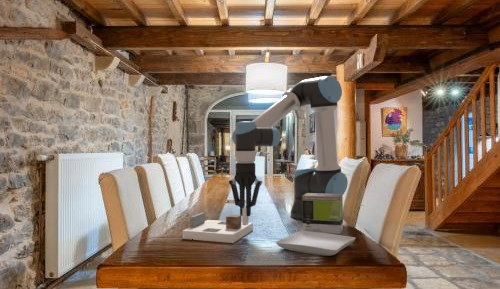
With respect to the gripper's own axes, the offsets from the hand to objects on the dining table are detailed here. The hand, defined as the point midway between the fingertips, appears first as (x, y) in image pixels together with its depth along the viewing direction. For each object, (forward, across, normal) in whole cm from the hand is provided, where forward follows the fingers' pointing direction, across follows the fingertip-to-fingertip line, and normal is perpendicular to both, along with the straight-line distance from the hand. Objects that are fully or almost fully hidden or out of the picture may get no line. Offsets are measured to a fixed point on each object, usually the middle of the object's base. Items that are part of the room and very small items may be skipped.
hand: (245, 224), depth 154 cm
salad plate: (+5, -28, +8) cm, 30 cm away
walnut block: (+2, +5, 0) cm, 5 cm away
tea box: (+5, -26, -19) cm, 33 cm away
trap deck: (+5, +11, 0) cm, 12 cm away
